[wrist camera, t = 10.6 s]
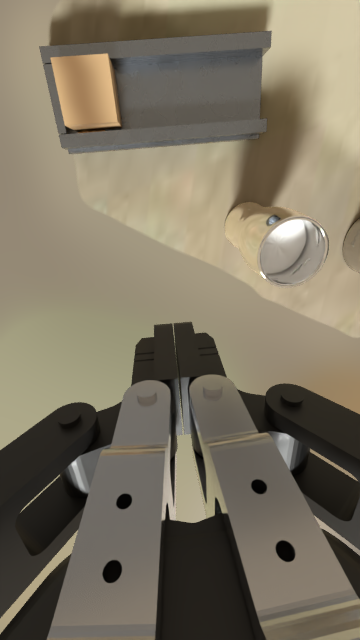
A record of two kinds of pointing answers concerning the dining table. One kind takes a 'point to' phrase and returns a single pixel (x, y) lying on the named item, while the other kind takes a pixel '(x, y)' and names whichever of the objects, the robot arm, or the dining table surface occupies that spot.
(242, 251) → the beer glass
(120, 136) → the chute
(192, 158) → the dining table surface
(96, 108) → the oak block
